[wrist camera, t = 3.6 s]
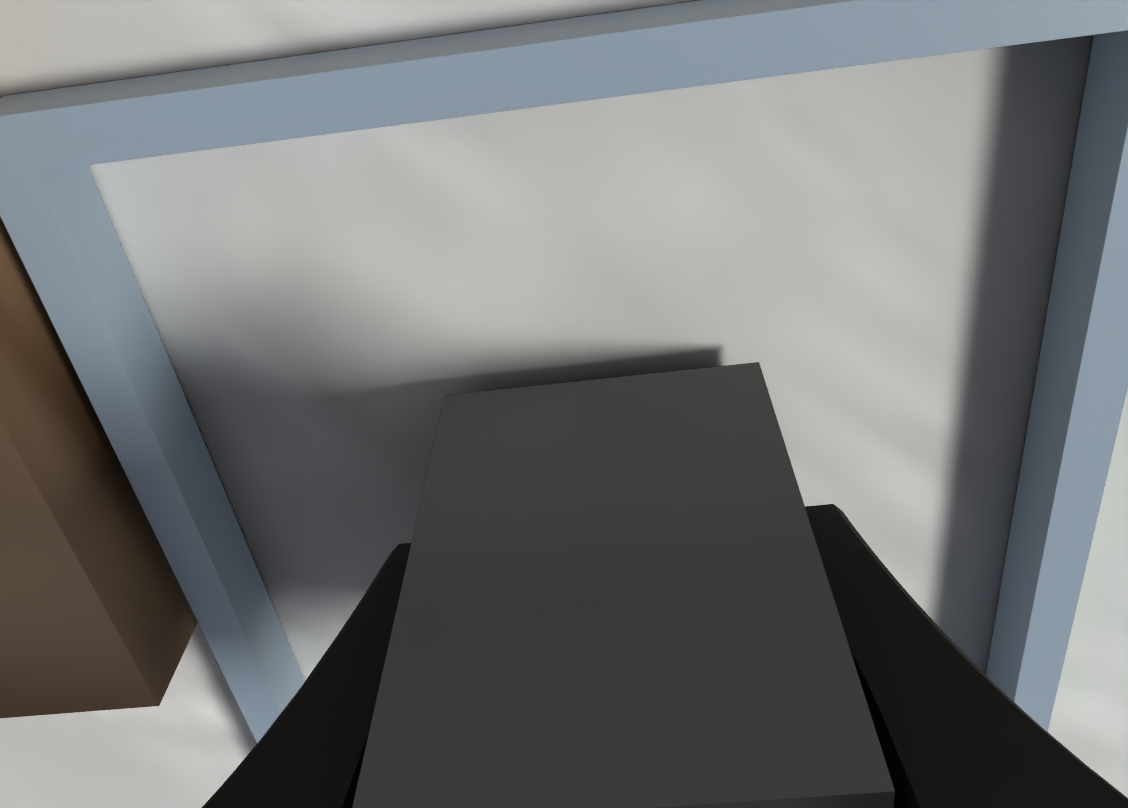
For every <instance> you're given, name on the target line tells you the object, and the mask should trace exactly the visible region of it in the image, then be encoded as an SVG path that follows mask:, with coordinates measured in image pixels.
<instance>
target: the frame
mask: <svg viewBox="0 0 1128 808" xmlns="http://www.w3.org/2000/svg"><path fill="white" fill-rule="evenodd" d="M1087 35H1094V37H1093V42H1092V48H1091V54H1090V60H1089V66H1088V72H1087V78H1086V84H1085V90H1084V96H1083V102H1082V108H1081V114H1080V120H1079V125H1078V131H1077V137H1076V143H1075V149H1074V155H1073V161H1072V167H1071V173H1070V179H1069V185H1068V191H1067V197H1066V203H1065V209H1064V214H1063V220H1062V226H1061V232H1060V238H1059V244H1058V250H1057V256H1056V262H1055V268H1054V274H1053V280H1052V286H1051V292H1050V297H1049V303H1048V309H1047V315H1046V321H1045V327H1044V333H1043V339H1042V345H1041V351H1040V357H1039V363H1038V369H1037V375H1036V381H1035V386H1034V392H1033V398H1032V404H1031V410H1030V416H1029V422H1028V428H1027V434H1026V440H1025V446H1024V452H1023V458H1022V464H1021V469H1020V475H1019V481H1018V487H1017V493H1016V499H1015V505H1014V511H1013V517H1012V523H1011V529H1010V535H1009V541H1008V547H1007V553H1006V558H1005V564H1004V570H1003V576H1002V582H1001V588H1000V594H999V600H998V606H997V612H996V618H995V624H994V630H993V636H992V641H991V647H990V653H989V659H988V665H987V671H986V676H987V677H988V678H989V679H990V680H991V681H992V682H994V683H995V684H996V685H997V686H998V687H999V688H1000V689H1001V690H1002V691H1003V692H1004V693H1005V694H1006V695H1007V696H1008V697H1009V698H1010V699H1011V700H1012V701H1013V702H1015V703H1016V704H1017V705H1018V706H1019V707H1020V708H1021V709H1022V710H1023V711H1024V712H1025V713H1026V714H1028V715H1029V716H1030V717H1031V718H1032V719H1033V720H1034V721H1035V722H1036V723H1038V724H1039V725H1040V726H1041V727H1042V728H1043V729H1044V730H1045V731H1048V727H1049V723H1050V718H1051V714H1052V710H1053V706H1054V701H1055V697H1056V693H1057V688H1058V684H1059V680H1060V676H1061V671H1062V667H1063V663H1064V658H1065V654H1066V650H1067V645H1068V641H1069V637H1070V633H1071V628H1072V624H1073V620H1074V615H1075V611H1076V607H1077V603H1078V598H1079V594H1080V590H1081V585H1082V581H1083V577H1084V572H1085V568H1086V564H1087V560H1088V555H1089V551H1090V547H1091V542H1092V538H1093V534H1094V530H1095V525H1096V521H1097V517H1098V512H1099V508H1100V504H1101V499H1102V495H1103V491H1104V487H1105V482H1106V478H1107V474H1108V469H1109V465H1110V461H1111V457H1112V452H1113V448H1114V444H1115V439H1116V435H1117V431H1118V426H1119V422H1120V418H1121V414H1122V409H1123V405H1124V401H1125V396H1126V392H1127V388H1128V0H699V1H692V2H685V3H677V4H670V5H663V6H656V7H648V8H641V9H634V10H626V11H619V12H612V13H604V14H597V15H590V16H583V17H575V18H568V19H561V20H553V21H546V22H539V23H532V24H524V25H517V26H510V27H502V28H495V29H488V30H481V31H473V32H466V33H459V34H451V35H444V36H437V37H430V38H422V39H415V40H408V41H400V42H393V43H386V44H378V45H371V46H364V47H357V48H349V49H342V50H335V51H327V52H320V53H313V54H306V55H298V56H291V57H284V58H276V59H269V60H262V61H255V62H247V63H240V64H233V65H225V66H218V67H211V68H204V69H196V70H189V71H182V72H174V73H167V74H160V75H152V76H145V77H138V78H131V79H123V80H116V81H109V82H101V83H94V84H87V85H80V86H72V87H65V88H58V89H50V90H43V91H36V92H29V93H21V94H14V95H7V96H4V97H2V98H0V216H1V219H2V221H3V223H4V225H5V227H6V229H7V231H8V233H9V235H10V237H11V239H12V241H13V243H14V245H15V247H16V249H17V251H18V253H19V256H20V258H21V260H22V262H23V264H24V266H25V268H26V270H27V272H28V274H29V276H30V278H31V280H32V282H33V284H34V286H35V288H36V290H37V293H38V295H39V297H40V299H41V301H42V303H43V305H44V307H45V309H46V311H47V313H48V315H49V317H50V319H51V321H52V323H53V325H54V327H55V330H56V332H57V334H58V336H59V338H60V340H61V342H62V344H63V346H64V348H65V350H66V352H67V354H68V356H69V358H70V360H71V362H72V364H73V367H74V369H75V371H76V373H77V375H78V377H79V379H80V381H81V383H82V385H83V387H84V389H85V391H86V393H87V395H88V397H89V399H90V401H91V404H92V406H93V408H94V410H95V412H96V414H97V416H98V418H99V420H100V422H101V424H102V426H103V428H104V430H105V432H106V434H107V436H108V438H109V440H110V443H111V445H112V447H113V449H114V451H115V453H116V455H117V457H118V459H119V461H120V463H121V465H122V467H123V469H124V471H125V473H126V475H127V477H128V480H129V482H130V484H131V486H132V488H133V490H134V492H135V494H136V496H137V498H138V500H139V502H140V504H141V506H142V508H143V510H144V512H145V514H146V517H147V519H148V521H149V523H150V525H151V527H152V529H153V531H154V533H155V535H156V537H157V539H158V541H159V543H160V545H161V547H162V549H163V551H164V554H165V556H166V558H167V560H168V562H169V564H170V566H171V568H172V570H173V572H174V574H175V576H176V578H177V580H178V582H179V584H180V586H181V588H182V591H183V593H184V595H185V597H186V599H187V601H188V603H189V605H190V607H191V609H192V611H193V613H194V615H195V617H196V619H197V621H198V623H199V625H200V627H201V630H202V632H203V634H204V636H205V638H206V640H207V642H208V644H209V646H210V648H211V650H212V652H213V654H214V656H215V658H216V660H217V662H218V664H219V667H220V669H221V671H222V673H223V675H224V677H225V679H226V681H227V683H228V685H229V687H230V689H231V691H232V693H233V695H234V697H235V699H236V701H237V704H238V706H239V708H240V710H241V712H242V714H243V716H244V718H245V720H246V722H247V724H248V726H249V728H250V730H251V732H252V734H253V736H254V738H255V741H256V743H258V742H259V741H260V739H261V738H262V737H263V736H264V734H265V733H266V732H267V730H268V729H269V728H270V726H271V725H272V724H273V723H274V721H275V720H276V719H277V717H278V716H279V715H280V714H281V712H282V711H283V710H284V708H285V707H286V706H287V705H288V703H289V702H290V701H291V699H292V698H293V697H294V696H295V694H296V693H297V692H298V690H299V689H300V688H301V686H302V685H303V684H304V682H305V681H304V679H303V676H302V674H301V672H300V669H299V667H298V664H297V662H296V660H295V657H294V655H293V653H292V650H291V648H290V645H289V643H288V641H287V638H286V636H285V633H284V631H283V629H282V626H281V624H280V622H279V619H278V617H277V614H276V612H275V610H274V607H273V605H272V602H271V600H270V598H269V595H268V593H267V591H266V588H265V586H264V583H263V581H262V579H261V576H260V574H259V571H258V569H257V567H256V564H255V562H254V560H253V557H252V555H251V552H250V550H249V548H248V545H247V543H246V540H245V538H244V536H243V533H242V531H241V529H240V526H239V524H238V521H237V519H236V517H235V514H234V512H233V509H232V507H231V505H230V502H229V500H228V498H227V495H226V493H225V490H224V488H223V486H222V483H221V481H220V478H219V476H218V474H217V471H216V469H215V467H214V464H213V462H212V459H211V457H210V455H209V452H208V450H207V447H206V445H205V443H204V440H203V438H202V436H201V433H200V431H199V428H198V426H197V424H196V421H195V419H194V416H193V414H192V412H191V409H190V407H189V405H188V402H187V400H186V397H185V395H184V393H183V390H182V388H181V385H180V383H179V381H178V378H177V376H176V374H175V371H174V369H173V366H172V364H171V362H170V359H169V357H168V354H167V352H166V350H165V347H164V345H163V343H162V340H161V338H160V335H159V333H158V331H157V328H156V326H155V323H154V321H153V319H152V316H151V314H150V312H149V309H148V307H147V304H146V302H145V300H144V297H143V295H142V292H141V290H140V288H139V285H138V283H137V280H136V278H135V276H134V273H133V271H132V269H131V266H130V264H129V261H128V259H127V257H126V254H125V252H124V249H123V247H122V245H121V242H120V240H119V238H118V235H117V233H116V230H115V228H114V226H113V223H112V221H111V218H110V216H109V214H108V211H107V209H106V207H105V204H104V202H103V199H102V197H101V195H100V192H99V190H98V187H97V185H96V183H95V180H94V178H93V176H92V173H91V171H90V168H89V166H88V165H92V164H99V163H107V162H115V161H123V160H130V159H138V158H146V157H154V156H161V155H169V154H177V153H184V152H192V151H200V150H208V149H215V148H223V147H231V146H238V145H246V144H254V143H262V142H269V141H277V140H285V139H292V138H300V137H308V136H316V135H323V134H331V133H339V132H346V131H354V130H362V129H370V128H377V127H385V126H393V125H400V124H408V123H416V122H424V121H431V120H439V119H447V118H455V117H462V116H470V115H478V114H485V113H493V112H501V111H509V110H516V109H524V108H532V107H539V106H547V105H555V104H563V103H570V102H578V101H586V100H593V99H601V98H609V97H617V96H624V95H632V94H640V93H647V92H655V91H663V90H671V89H678V88H686V87H694V86H701V85H709V84H717V83H725V82H732V81H740V80H748V79H755V78H763V77H771V76H779V75H786V74H794V73H802V72H810V71H817V70H825V69H833V68H840V67H848V66H856V65H864V64H871V63H879V62H887V61H894V60H902V59H910V58H918V57H925V56H933V55H941V54H948V53H956V52H964V51H972V50H979V49H987V48H995V47H1002V46H1010V45H1018V44H1026V43H1033V42H1041V41H1049V40H1056V39H1064V38H1072V37H1080V36H1087Z"/></svg>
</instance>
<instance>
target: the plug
mask: <svg viewBox="0 0 1128 808" xmlns="http://www.w3.org/2000/svg"><path fill="white" fill-rule="evenodd" d="M894 797H895V790H894V786H893V783H892V780H891V777H890V774H889V771H888V768H887V764H886V761H885V758H884V755H883V752H882V749H881V745H880V742H879V739H878V736H877V733H876V730H875V727H874V723H873V720H872V717H871V714H870V711H869V708H868V705H867V701H866V698H865V695H864V692H863V689H862V686H861V682H860V679H859V676H858V673H857V670H856V667H855V664H854V660H853V657H852V654H851V651H850V648H849V645H848V642H847V638H846V635H845V632H844V629H843V626H842V623H841V620H840V616H839V613H838V610H837V607H836V604H835V601H834V597H833V594H832V591H831V588H830V585H829V582H828V579H827V575H826V572H825V569H824V566H823V563H822V560H821V557H820V553H819V550H818V547H817V544H816V541H815V538H814V534H813V531H812V528H811V525H810V522H809V519H808V516H807V512H806V509H805V506H804V503H803V500H802V497H801V494H800V490H799V487H798V484H797V481H796V478H795V475H794V471H793V468H792V465H791V462H790V459H789V456H788V453H787V449H786V446H785V443H784V440H783V437H782V434H781V431H780V427H779V424H778V421H777V418H776V415H775V412H774V408H773V405H772V402H771V399H770V396H769V393H768V390H767V386H766V383H765V380H764V377H763V374H762V371H761V368H760V364H759V362H756V363H747V364H737V365H728V366H718V367H709V368H699V369H690V370H680V371H671V372H661V373H652V374H642V375H633V376H623V377H614V378H604V379H595V380H585V381H576V382H566V383H557V384H547V385H538V386H528V387H518V388H509V389H499V390H490V391H480V392H471V393H461V394H452V395H445V396H444V400H443V405H442V409H441V414H440V418H439V422H438V427H437V431H436V436H435V440H434V445H433V449H432V454H431V458H430V463H429V467H428V472H427V476H426V481H425V485H424V489H423V494H422V498H421V503H420V507H419V512H418V516H417V521H416V525H415V530H414V534H413V539H412V543H411V548H410V552H409V556H408V561H407V565H406V570H405V574H404V579H403V583H402V588H401V592H400V597H399V601H398V606H397V610H396V615H395V619H394V623H393V628H392V632H391V637H390V641H389V646H388V650H387V655H386V659H385V664H384V668H383V673H382V677H381V682H380V686H379V690H378V695H377V699H376V704H375V708H374V713H373V717H372V722H371V726H370V731H369V735H368V740H367V744H366V749H365V753H364V758H363V762H362V766H361V771H360V775H359V780H358V784H357V789H356V793H355V798H354V802H353V807H352V808H893V807H894Z"/></svg>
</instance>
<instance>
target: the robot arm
mask: <svg viewBox="0 0 1128 808" xmlns="http://www.w3.org/2000/svg"><path fill="white" fill-rule="evenodd" d="M805 509H806V512H807V516H808V519H809V522H810V525H811V528H812V531H813V534H814V538H815V541H816V544H817V547H818V550H819V553H820V557H821V560H822V563H823V566H824V569H825V572H826V575H827V579H828V582H829V585H830V588H831V591H832V594H833V597H834V601H835V604H836V607H837V610H838V613H839V616H840V620H841V623H842V626H843V629H844V632H845V635H846V638H847V642H848V645H849V648H850V651H851V654H852V657H853V660H854V664H855V667H856V670H857V673H858V676H859V679H860V682H861V686H862V689H863V692H864V695H865V698H866V701H867V705H868V708H869V711H870V714H871V717H872V720H873V723H874V727H875V730H876V733H877V736H878V739H879V742H880V745H881V749H882V752H883V755H884V758H885V761H886V764H887V768H888V771H889V774H890V777H891V780H892V783H893V786H894V790H895V797H894V807H893V808H1128V798H1127V797H1126V796H1124V795H1123V794H1122V793H1121V792H1119V791H1118V790H1117V789H1116V788H1114V787H1113V786H1112V785H1111V784H1109V783H1108V782H1107V781H1106V780H1104V779H1103V778H1102V777H1101V776H1099V775H1098V774H1097V773H1096V772H1094V771H1093V770H1092V769H1090V768H1089V767H1088V766H1087V765H1085V764H1084V763H1083V762H1082V761H1081V760H1080V759H1078V758H1077V757H1076V756H1075V755H1074V754H1072V753H1071V752H1070V751H1069V750H1068V749H1067V748H1065V747H1064V746H1063V745H1062V744H1061V743H1060V742H1058V741H1057V740H1056V739H1055V738H1054V737H1052V736H1051V735H1050V734H1049V733H1048V732H1047V731H1045V730H1044V729H1043V728H1042V727H1041V726H1040V725H1039V724H1038V723H1036V722H1035V721H1034V720H1033V719H1032V718H1031V717H1030V716H1029V715H1028V714H1026V713H1025V712H1024V711H1023V710H1022V709H1021V708H1020V707H1019V706H1018V705H1017V704H1016V703H1015V702H1013V701H1012V700H1011V699H1010V698H1009V697H1008V696H1007V695H1006V694H1005V693H1004V692H1003V691H1002V690H1001V689H1000V688H999V687H998V686H997V685H996V684H995V683H994V682H992V681H991V680H990V679H989V678H988V677H987V676H986V675H985V674H984V673H983V672H982V671H981V670H980V669H979V668H978V667H977V666H976V665H975V664H974V663H973V662H972V661H971V660H970V659H969V658H968V657H967V656H966V655H965V654H964V653H963V652H962V651H961V650H960V649H959V648H958V647H957V646H956V645H955V644H954V643H953V642H952V641H951V640H950V638H949V637H948V636H947V635H946V634H945V633H944V632H943V631H942V630H941V629H940V628H939V627H938V625H937V624H936V623H935V622H934V621H933V620H932V619H931V618H930V617H929V616H928V615H927V614H926V612H925V611H924V610H923V609H922V608H921V607H920V606H919V605H918V604H917V603H916V602H915V601H914V599H913V598H912V597H911V596H910V595H909V594H908V593H907V591H906V590H905V589H904V588H903V587H902V586H901V585H900V583H899V582H898V581H897V580H896V579H895V577H894V576H893V575H892V574H891V573H890V571H889V570H888V569H887V568H886V567H885V565H884V564H883V563H882V562H881V561H880V560H879V558H878V557H877V556H876V555H875V553H874V552H873V551H872V550H871V548H870V547H869V546H868V545H867V543H866V542H865V541H864V539H863V538H862V537H861V536H860V534H859V533H858V532H857V530H856V529H855V528H854V526H853V525H852V524H851V522H850V521H849V520H848V518H847V517H846V516H845V514H844V513H843V511H842V510H840V509H839V508H838V507H836V506H835V505H834V504H828V505H818V506H807V507H805ZM410 548H411V543H405V544H398V545H397V546H396V548H395V549H394V550H393V551H392V552H391V554H390V555H389V557H388V558H387V560H386V562H385V563H384V565H383V566H382V568H381V570H380V571H379V573H378V574H377V576H376V577H375V579H374V581H373V582H372V584H371V585H370V587H369V588H368V590H367V591H366V593H365V595H364V596H363V598H362V599H361V601H360V602H359V604H358V605H357V607H356V608H355V610H354V611H353V613H352V614H351V616H350V617H349V619H348V620H347V622H346V623H345V625H344V627H343V628H342V630H341V631H340V632H339V634H338V635H337V637H336V638H335V640H334V641H333V642H332V644H331V645H330V647H329V648H328V650H327V651H326V652H325V654H324V655H323V657H322V658H321V660H320V661H319V662H318V664H317V665H316V667H315V668H314V670H313V671H312V672H311V674H310V675H309V677H308V678H307V679H306V681H305V682H304V684H303V685H302V686H301V688H300V689H299V690H298V692H297V693H296V694H295V696H294V697H293V698H292V699H291V701H290V702H289V703H288V705H287V706H286V707H285V708H284V710H283V711H282V712H281V714H280V715H279V716H278V717H277V719H276V720H275V721H274V723H273V724H272V725H271V726H270V728H269V729H268V730H267V732H266V733H265V734H264V736H263V737H262V738H261V739H260V741H259V742H258V743H257V744H256V746H255V747H254V748H253V749H252V751H251V752H250V753H249V754H248V755H247V757H246V758H245V759H244V760H243V761H242V762H241V764H240V765H239V766H238V767H237V768H236V770H235V771H234V772H233V773H232V774H231V775H230V777H229V778H228V779H227V780H226V781H225V782H224V784H223V785H222V786H221V787H220V788H219V789H218V790H217V791H216V793H215V794H214V795H213V796H212V797H211V798H210V799H209V800H208V801H207V802H206V804H205V805H204V806H203V807H202V808H352V807H353V802H354V798H355V793H356V789H357V784H358V780H359V775H360V771H361V766H362V762H363V758H364V753H365V749H366V744H367V740H368V735H369V731H370V726H371V722H372V717H373V713H374V708H375V704H376V699H377V695H378V690H379V686H380V682H381V677H382V673H383V668H384V664H385V659H386V655H387V650H388V646H389V641H390V637H391V632H392V628H393V623H394V619H395V615H396V610H397V606H398V601H399V597H400V592H401V588H402V583H403V579H404V574H405V570H406V565H407V561H408V556H409V552H410Z"/></svg>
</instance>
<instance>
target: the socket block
mask: <svg viewBox="0 0 1128 808" xmlns="http://www.w3.org/2000/svg"><path fill="white" fill-rule="evenodd" d="M197 622H198V621H197V619H196V617H195V615H194V613H193V611H192V609H191V607H190V605H189V603H188V601H187V599H186V597H185V595H184V593H183V591H182V588H181V586H180V584H179V582H178V580H177V578H176V576H175V574H174V572H173V570H172V568H171V566H170V564H169V562H168V560H167V558H166V556H165V554H164V551H163V549H162V547H161V545H160V543H159V541H158V539H157V537H156V535H155V533H154V531H153V529H152V527H151V525H150V523H149V521H148V519H147V517H146V514H145V512H144V510H143V508H142V506H141V504H140V502H139V500H138V498H137V496H136V494H135V492H134V490H133V488H132V486H131V484H130V482H129V480H128V477H127V475H126V473H125V471H124V469H123V467H122V465H121V463H120V461H119V459H118V457H117V455H116V453H115V451H114V449H113V447H112V445H111V443H110V440H109V438H108V436H107V434H106V432H105V430H104V428H103V426H102V424H101V422H100V420H99V418H98V416H97V414H96V412H95V410H94V408H93V406H92V404H91V401H90V399H89V397H88V395H87V393H86V391H85V389H84V387H83V385H82V383H81V381H80V379H79V377H78V375H77V373H76V371H75V369H74V367H73V364H72V362H71V360H70V358H69V356H68V354H67V352H66V350H65V348H64V346H63V344H62V342H61V340H60V338H59V336H58V334H57V332H56V330H55V327H54V325H53V323H52V321H51V319H50V317H49V315H48V313H47V311H46V309H45V307H44V305H43V303H42V301H41V299H40V297H39V295H38V293H37V290H36V288H35V286H34V284H33V282H32V280H31V278H30V276H29V274H28V272H27V270H26V268H25V266H24V264H23V262H22V260H21V258H20V256H19V253H18V251H17V249H16V247H15V245H14V243H13V241H12V239H11V237H10V235H9V233H8V231H7V229H6V227H5V225H4V223H3V221H2V219H1V216H0V718H9V717H21V716H34V715H47V714H60V713H73V712H85V711H98V710H111V709H124V708H137V707H150V706H159V705H160V703H161V701H162V698H163V696H164V694H165V692H166V690H167V688H168V685H169V683H170V681H171V679H172V677H173V675H174V672H175V670H176V668H177V666H178V664H179V661H180V659H181V657H182V655H183V653H184V651H185V648H186V646H187V644H188V642H189V640H190V638H191V635H192V633H193V631H194V629H195V627H196V625H197Z"/></svg>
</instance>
